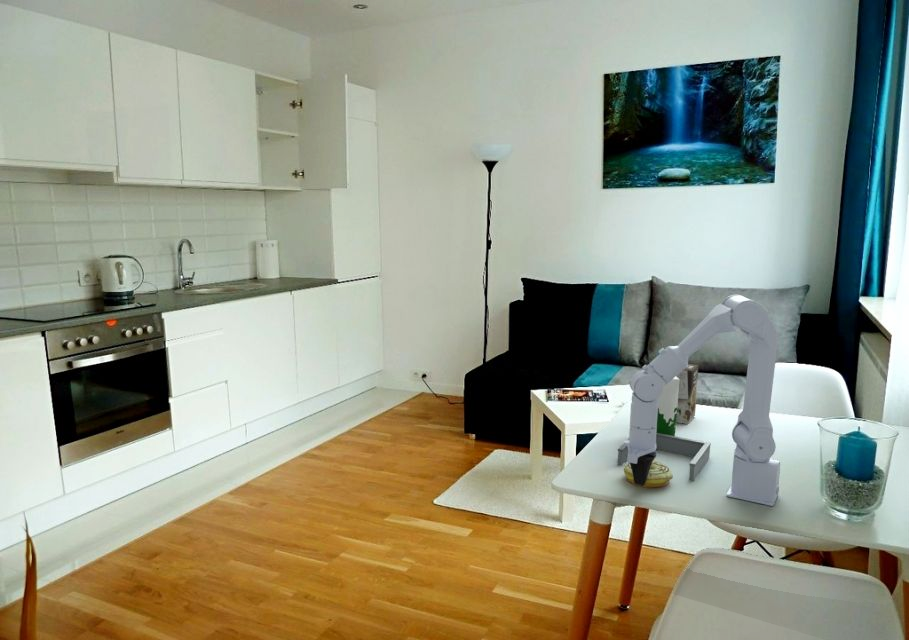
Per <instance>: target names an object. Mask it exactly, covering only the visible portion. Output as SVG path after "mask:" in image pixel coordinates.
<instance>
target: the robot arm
mask: <svg viewBox="0 0 909 640" xmlns="http://www.w3.org/2000/svg"><path fill="white" fill-rule="evenodd" d="M735 327H736V328H738V329H740V331H741V332H743V334H744V335H745V336H746V337H747V338H748V339H749V341H750V344H749V351H748V352H749V355H748V364H747V369H746V370H747V372H746V380H745V390H744V399H743V407H742V411H740V413H739V414H738V417H737V422H736V424H735V425H734V426H733V428H732V432H731V437H732V438H731V439H732V440H733V442H734V443H735V444H736V446H735V449H734V451H733V460H732V461H733V462H732V463H733V464H732V474H731V475H732V476H731V483H730V484H731V485H730V486H729V489H728V490H727V491H726V493H725V495H726V497H730V498H734V499H738V500H742V501H743V500H744V501H747V502H752V503H757V504H762V505H766V506H770V507H774V505H775V503H776V500H777V497H778V495H779V492H780V486H779V483H780V473H781V461H780V460H776V459H773V458H772V457H773V455H774V454H775V451H776V442H775V439H774V435H773V433H774V429H773V425H772V422H771V419H770V418H771V417H770V410H771V403H772V396H773V395H772V393H773V386H774V385H773V384H774V377H775V376H774V375H775V370H776V369H775V368H776V361H777V352H778V351H777V350H778V344H779V333H778V330H777V329H776V327H775V324H774V322H773V320H772V319H771V317H770V313H769V310H768V309H766V307H764V306H763V305H762V304H761V303H760V302H759V301H756V300H753V299H749V298H747V297H745V296H743V295H740V294H731V295H729V296H727V297H725V298H724V299H723V301H722V302H721V303H718V304H717V305H715V306H714V307H713V308H712V309H711V311H710V312H709V313H708V315H707V316H705V318H704V319H702V321H700V322H699V323H698V325H697V326H696V327H694V329H692V330H691V332H689V333H688V334H687V336H686V337H684V338H683V339H682V340H681V341H680V343H678V344H677V345H675V346H673V345H668V346H667V347H665V348H664V347H662V348H660V349H659V350H658V351H657V352H658V353H659V354H658V355H657V356H656V357H655V358H653V359H652V361H650V362H649V364H644V365H643V366H642V369H641V370H638V371H636V372H635V373H633V375H632V376H631V379H630V380H629V388H630V389H631V390H632V393H631V403H630V415H629V416H630V417H629V434H628V435H629V436H628V439H629V440H628V439H625V440H624V441H623V443H622V445H625V446H628V453H627V461H626V462H627V463H630V465H631V468H632V473H633V478H634V483H635V484H634V485H636V484H638V485H642V486H644V485H645V483H646V480H647V476H648V473H649V469H650V466H651V464H652V462H653V461H655V458H656V457H657V452H655V451H657V450H656V431H657V414H658V406H657V405H658V397H660V396H661V394H662V391H663V386H665V385H667V383H669V382H670V381H671V380H672V379H673V378H674V377H676V376H677V375H678V374H679V373H680V372H681V371H682V370H683V369H685V368H686V367H687V366H688V364H689V357H691V356H692V355H693V354H694V353H695V352H697V351H698V350H699V349H700V348H701V347H703V346H704V345H705V344H707V343H708V342H709V341H710V340H712V339H713V338H714V337H715V336H717V335H718V334H720V333H731V332H736V328H735ZM642 486H641V487H642Z"/></svg>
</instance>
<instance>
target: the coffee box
mask: <svg viewBox="0 0 909 640" xmlns="http://www.w3.org/2000/svg"><path fill="white" fill-rule="evenodd" d="M698 375H699V365H698V364H693V363H688V366H687V367H686V368H685V369H683V370H682V371H681V372H680V373H679V374H678V375H677V376H676V377H677V378H679V379H680V380H679V391H678V405H677V420H676V423H677V422H679V423H678V424H682V423H686V424H685V425H689V424H690V423H691V422H690V421H692V420H694V419H695V417H696V409H697V408H696V406H697V405H696V404H697V392H698V391H697V390H698V379H699V378H698ZM694 416H695V417H694ZM689 422H690V423H689Z"/></svg>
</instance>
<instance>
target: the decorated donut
mask: <svg viewBox="0 0 909 640" xmlns="http://www.w3.org/2000/svg"><path fill="white" fill-rule="evenodd" d="M624 464H625V465H624V469H623V473H624V476H625V478H626V480H627V481H629V482H630V483H631V482H632V484H634V485H636V486H637V485H638V484H635V483H634V478H633V473H632V468H631V465H630V463H629V462H627V463H624ZM673 478H674V474H673V471H672V469H670V468H669V467H668V466H667V465H666V464H664V463H662V462H659V461H656V460H653V462H652V464H651V466H650V469H649V473H648V476H647V480H646V483H645V485H644V486H642V485H638V487H642V488H647V487H648V488H649V489H650V488H661V487H664V486H665V485H667V484H668V483H669V482H670V480H672V479H673ZM648 488H647V489H648Z"/></svg>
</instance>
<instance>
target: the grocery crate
mask: <svg viewBox="0 0 909 640" xmlns="http://www.w3.org/2000/svg"><path fill="white" fill-rule="evenodd" d="M627 440H629V438H628V439H627ZM711 445H712V442H708V441H703V440H697V439H693V438H688V437H681V436H676V435H675V436H671V435H665V434H660V433H656V449H657V450H656V451H663V452H667V453H673V454H677V455H682V456H689V457H692V459H691V461H690V462H689V475H688V476H689V477H688V480H689V481H691V482H694V481H695V480H696V478H697V476H698V475H699V474H700V472H701V471H702V469H703V468H704V466H705V465H706V464H707V462H708V461H709V459H710V456H711V455H710V454H711V453H710V452H711ZM627 453H628V446H625V445H623V444H622V445H620V446H619V447H618V448H617V466H620V467H621V466H623V465H624V464H626V462H627Z"/></svg>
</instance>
